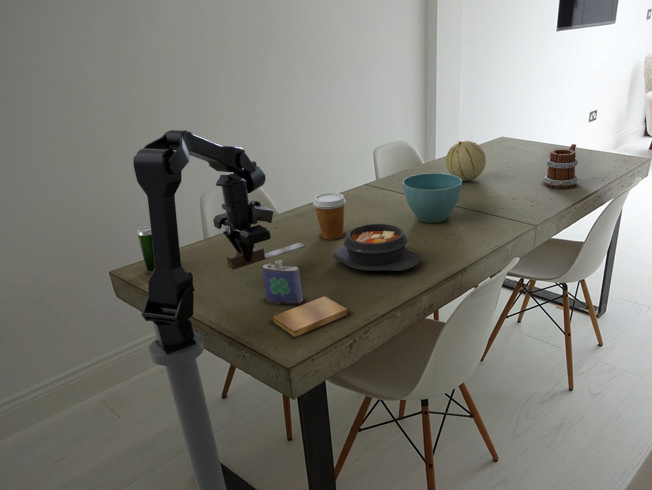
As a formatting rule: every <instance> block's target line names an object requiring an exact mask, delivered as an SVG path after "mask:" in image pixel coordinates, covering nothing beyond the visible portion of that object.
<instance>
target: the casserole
mask: <svg viewBox="0 0 652 490" xmlns="http://www.w3.org/2000/svg"><path fill="white" fill-rule="evenodd" d="M408 240H409V239H408V236H407V235H406V234H405V231H404V230H403V229H402V228H401V227H399V226H397V225H393V224H388V223H370V224H365V225H363V224H362V225H360V226H357V227H354V228H352V229H350V230H349V231H348V232H347V234H346V238H345V239H344V240H343V245H342V246H340V247H338V248H337V249H336V250H334V251H333V253H332V255H331V256H332V258H333V259H335V260H338V261H340V262H341V263H343V264H344V265H346V266H347V267H349V268H352V269H355V270H360V271H365V272H367V271H369V272H377V271H378V272H379V271H390V272H403V271H406V270H409V269H411V268H415V266H417V265H418V264H420V262H421V261H422V259H423V256H422V254H421V253H419V252H417V251H414V250H411V249H409V248H407V247H406V245H407V243H408Z"/></svg>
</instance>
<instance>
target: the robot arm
mask: <svg viewBox="0 0 652 490" xmlns="http://www.w3.org/2000/svg"><path fill="white" fill-rule="evenodd" d="M190 156H191V157H193V158H197V159H199V160H202V161H205V162H207V163H208V166H209V167H210V168H211V169H213V170H214V171H216V172H221V173H222V172H223V173H229V174H220V175H219V178H218V179H217V180H216V182H215V186H216V187H221V191H222V196H223V202H224V203H221V209H222V210H224V211H225V212H224V213H220V214H217V215H215V216H214V218H213V219H212V223H213V227H214V228H216V229H217V230H221V229H222V228H223V227H224V228H225V230H224V231H222V233H223V235H224V236H225V238H226V239H227V240H228V241H229V243H230V244H231V245H232V246H233V248H234V249H235V251H236V253H239V252H242V254H243V256H244V257H245V259H246V261H247V262H249V261H251V259H252V254H253V248H255V244H258V243H263V242H266V241H268V240H271V239H272V236H271V230H270V229H268V228H267V227H265V226H263V225H261V224H259V223H258V222H265V223H266V222H267V223H268V224H272V223H273V217H274V209H271V208H270V207H267V206H264V205H261V202H260V201H258V200H254V199H253V200H252V199H251V201H250V199H249V198H250V197H249V194H251V193H253V192H255V191H256V190H258V189H259V188H261V187H262V186H264V185H265V183H266V180H267V179H266V174H265V172H264V171H263V170H262V168H261V167H259V166H258V165H257V162H256V161H255V160H251V159H250V157H249V156H248V154H247V153H246V151H245V149H244V148H242V147H240V146H230V145H229V146H228V145H220V144H218V143H216V142H214V141H211V140H209V139H205V138H204V137H201V136H199V135H196V134H194V133H193V132H192V131H189V130H187V129H180V130H179V129H170V130H168V131H166V132H164V133H163V135H162V136H160V137H158V138H157V139H154V140H153V141H151V142H149V143H147V144H146V145H144V146H143V147H142V148H140V149H139V150H138V151H137V152H136V154H135V155H134V156H133V162H132V164H133V169H134V170H133V171H134V173H135V178H136V182H137V184H138V185H139V186H140V188H141V190H142V191H143V192H144V194H145V195H146V199H147V206H148V207H147V208H148V216H149V225H151V234H152V244H153V253H154V262H155V269H154V271H153V273H151V275H150V276H149V279H148V282H147V283H148V284H147V285H148V286H147V287H148V288H147V289H148V291H147V296H146V298H145V302H144V305H143V309H142V311H141V317H142V318H143V320H144V321H145V322H152V325H153V330H154V333H155V337H156V339H157V340H156V341H155V343H156V344H157V345H158V346H159V347H160V348H161V349H162V350H163V351H164V352H165V354H170V353H173V352H175V351H178V350H180V349H183V348H186V347H188V346H191V345H193V344H196V341H195V340H194V339H193V337H194V332H193V331H194V329H193V324H192V320H191V319H190V318H191V317H193V316H194V305H195V304H194V298H195V297H194V296H195V295H194V292H195V287H194V275H193V273H192V271H186V270H185V269H184V268H183V266H182V261H181V260H182V259H181V248H180V240H179V238H180V237H179V228H178V221H177V220H178V219H177V217H178V216H177V209H176V208H177V207H176V198H175V197H176V193H177V191H178V189H179V187H180V185H181V184H182V175H183V174H182V171H183V170H184V168H186V166H187V165H188V164H189V163H190ZM252 225H253V226H252Z"/></svg>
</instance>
